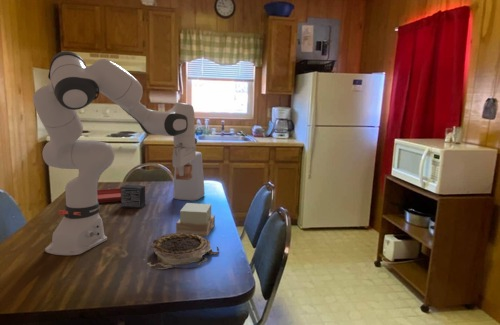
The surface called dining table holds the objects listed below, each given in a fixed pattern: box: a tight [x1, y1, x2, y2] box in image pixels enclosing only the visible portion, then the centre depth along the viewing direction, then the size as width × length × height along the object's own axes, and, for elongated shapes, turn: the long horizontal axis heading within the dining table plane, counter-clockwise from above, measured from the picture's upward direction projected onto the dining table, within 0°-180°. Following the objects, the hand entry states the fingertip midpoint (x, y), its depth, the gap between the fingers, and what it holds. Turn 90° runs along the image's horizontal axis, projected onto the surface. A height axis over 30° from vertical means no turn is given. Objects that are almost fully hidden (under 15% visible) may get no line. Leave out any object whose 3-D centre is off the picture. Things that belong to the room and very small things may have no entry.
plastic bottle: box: [172, 151, 205, 202], centre depth 199 cm, size 15×15×28 cm
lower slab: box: [175, 214, 216, 237], centre depth 155 cm, size 13×13×5 cm
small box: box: [120, 184, 146, 209], centre depth 183 cm, size 11×6×10 cm, turn 84°
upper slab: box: [179, 202, 212, 224], centre depth 155 cm, size 11×11×5 cm
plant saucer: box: [97, 188, 121, 204], centre depth 196 cm, size 18×18×3 cm
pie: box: [143, 232, 220, 270], centre depth 133 cm, size 28×27×5 cm
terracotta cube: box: [176, 164, 192, 180], centre depth 155 cm, size 6×6×6 cm
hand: (184, 173), depth 155 cm, fingers closed on terracotta cube, 5 cm apart
